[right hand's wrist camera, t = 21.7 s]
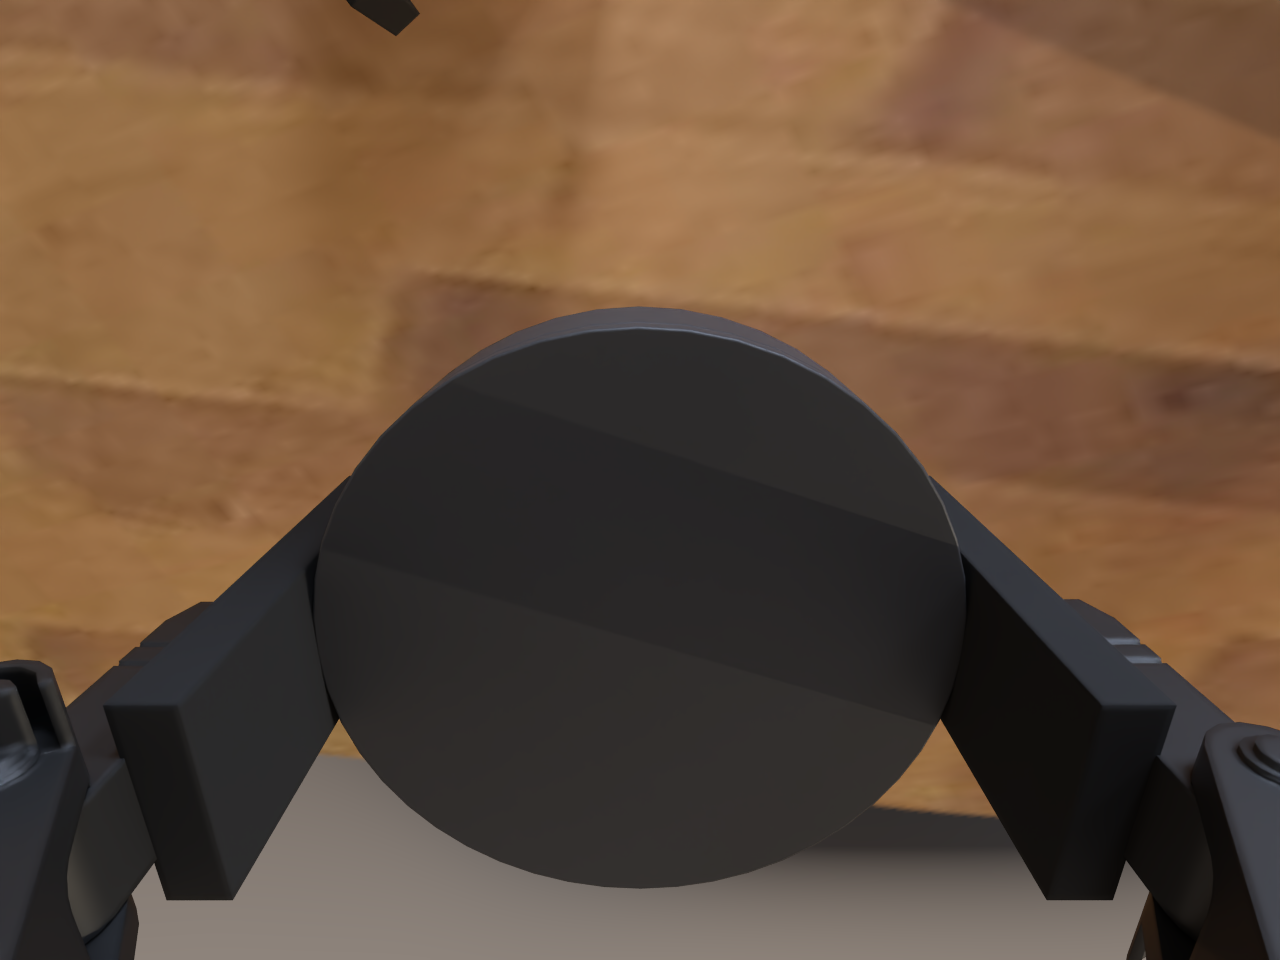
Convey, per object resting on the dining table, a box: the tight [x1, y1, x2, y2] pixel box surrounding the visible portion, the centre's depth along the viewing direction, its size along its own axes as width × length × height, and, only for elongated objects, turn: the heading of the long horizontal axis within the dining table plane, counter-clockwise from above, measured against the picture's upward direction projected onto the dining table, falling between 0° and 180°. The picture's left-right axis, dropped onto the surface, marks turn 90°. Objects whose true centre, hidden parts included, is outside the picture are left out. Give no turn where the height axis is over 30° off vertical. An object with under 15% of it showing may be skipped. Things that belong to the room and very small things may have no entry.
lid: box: [313, 307, 967, 889], centre depth 11 cm, size 9×9×2 cm
